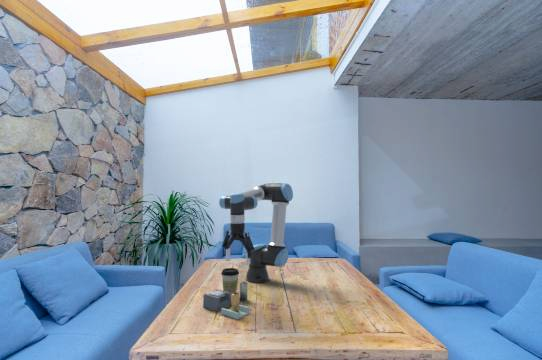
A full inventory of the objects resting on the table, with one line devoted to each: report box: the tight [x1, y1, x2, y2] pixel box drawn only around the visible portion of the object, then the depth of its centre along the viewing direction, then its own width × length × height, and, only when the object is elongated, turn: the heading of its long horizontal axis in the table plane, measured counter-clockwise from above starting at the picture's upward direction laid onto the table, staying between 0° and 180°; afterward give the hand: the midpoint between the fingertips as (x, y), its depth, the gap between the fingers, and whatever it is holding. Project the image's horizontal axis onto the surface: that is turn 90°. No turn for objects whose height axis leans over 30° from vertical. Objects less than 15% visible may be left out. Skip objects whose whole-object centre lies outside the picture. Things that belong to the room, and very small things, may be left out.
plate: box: [208, 289, 226, 298], centre depth 160 cm, size 6×6×2 cm
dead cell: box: [239, 281, 248, 302], centre depth 170 cm, size 4×4×10 cm
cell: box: [230, 291, 240, 313], centre depth 150 cm, size 4×4×10 cm
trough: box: [220, 304, 251, 320], centre depth 151 cm, size 9×10×3 cm
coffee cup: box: [221, 267, 240, 293], centre depth 174 cm, size 10×10×15 cm
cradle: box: [202, 288, 231, 313], centre depth 160 cm, size 10×10×6 cm
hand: (237, 262), depth 167 cm, fingers open, 13 cm apart
